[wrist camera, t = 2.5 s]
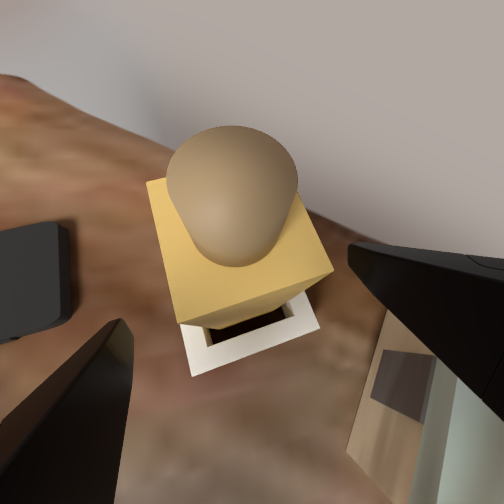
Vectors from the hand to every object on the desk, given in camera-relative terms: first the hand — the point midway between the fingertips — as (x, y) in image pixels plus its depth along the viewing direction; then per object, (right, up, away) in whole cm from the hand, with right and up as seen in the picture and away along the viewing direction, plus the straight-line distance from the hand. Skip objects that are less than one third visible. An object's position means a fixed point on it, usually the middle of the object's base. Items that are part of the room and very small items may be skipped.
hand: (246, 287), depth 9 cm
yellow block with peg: (-1, -2, +9) cm, 9 cm away
